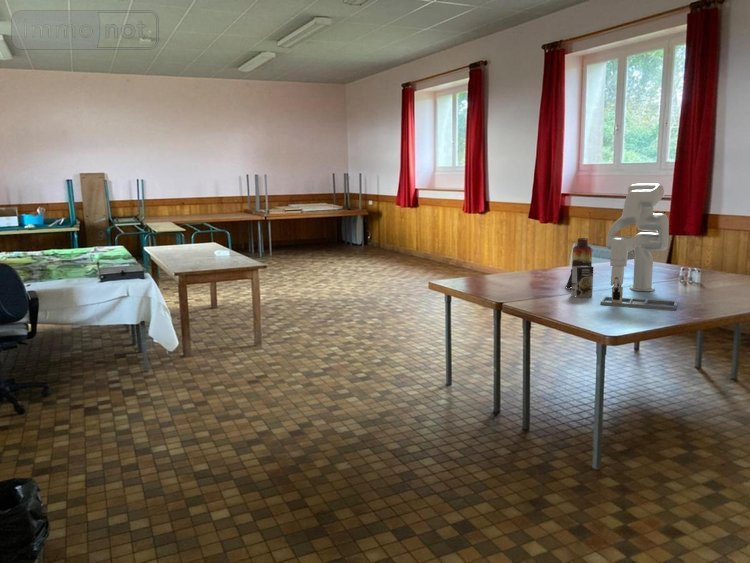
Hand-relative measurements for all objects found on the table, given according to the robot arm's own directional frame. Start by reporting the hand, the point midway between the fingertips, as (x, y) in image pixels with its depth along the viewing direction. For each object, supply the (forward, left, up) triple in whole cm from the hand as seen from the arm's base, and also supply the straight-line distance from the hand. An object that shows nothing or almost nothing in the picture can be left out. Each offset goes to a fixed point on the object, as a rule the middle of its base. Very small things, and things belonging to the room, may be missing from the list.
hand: (616, 298), depth 306 cm
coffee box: (-12, -19, -3) cm, 23 cm away
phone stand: (-32, -26, -3) cm, 41 cm away
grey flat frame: (0, +10, -2) cm, 10 cm away
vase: (-56, -27, -3) cm, 62 cm away
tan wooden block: (0, 0, -2) cm, 2 cm away
